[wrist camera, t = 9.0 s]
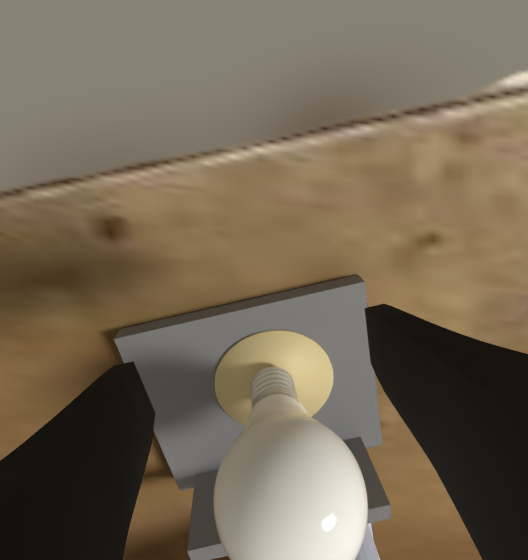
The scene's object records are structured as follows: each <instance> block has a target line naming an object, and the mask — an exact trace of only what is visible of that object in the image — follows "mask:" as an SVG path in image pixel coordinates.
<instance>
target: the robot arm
mask: <svg viewBox="0 0 528 560" xmlns="http://www.w3.org/2000/svg"><path fill="white" fill-rule="evenodd" d="M364 309H365V317H366V326H367V335H368V344H369V353H370V362H371V365H372V367H373V369H374V371H375V374H376V376H377V378H378V380H379V382H380V384H381V386H382V388H383V390H384V392H385V393H386V395H387V396H388V398H389V399H390V401H391V402H392V404H393V405H394V407H395V408H396V410H397V411H398V413H399V414H400V416H401V417H402V419H403V420H404V422H405V423H406V425H407V426H408V428H409V429H410V431H411V432H412V434H413V435H414V437H415V438H416V440H417V441H418V443H419V444H420V446H421V447H422V449H423V450H424V452H425V453H426V455H427V457H428V458H429V460H430V461H431V463H432V465H433V466H434V468H435V470H436V471H437V473H438V475H439V477H440V479H441V481H442V482H443V484H444V486H445V488H446V490H447V492H448V494H449V495H450V497H451V499H452V501H453V503H454V505H455V507H456V509H457V510H458V512H459V514H460V516H461V518H462V520H463V522H464V524H465V526H466V528H467V530H468V532H469V534H470V536H471V538H472V540H473V541H474V543H475V545H476V547H477V549H478V551H479V553H480V555H481V557H482V559H483V560H528V354H525V353H521V352H518V351H514V350H510V349H507V348H503V347H499V346H496V345H492V344H489V343H486V342H482V341H479V340H476V339H473V338H471V337H468V336H465V335H462V334H459V333H456V332H453V331H451V330H448V329H445V328H443V327H440V326H438V325H435V324H433V323H430V322H428V321H425V320H423V319H421V318H418V317H416V316H414V315H411V314H409V313H406V312H404V311H402V310H399V309H397V308H394V307H392V306H389V305H386V304H381V305H377V306H372V307H368V308H364ZM154 421H155V411H154V408H153V406H152V404H151V401H150V399H149V397H148V394H147V392H146V389H145V387H144V385H143V382H142V380H141V378H140V375H139V373H138V371H137V368H136V366H135V364H134V361H133V362H128V363H124V364H119V365H115V366H113V367H112V368H110V369H109V370H108V371H106V372H105V373H104V374H103V375H101V376H100V377H99V378H98V379H97V380H96V381H94V382H93V383H92V384H91V385H90V386H89V387H88V388H87V389H85V390H84V391H83V392H82V393H81V394H80V395H79V396H78V397H76V398H75V399H74V400H73V401H72V402H71V403H70V404H69V405H68V406H66V407H65V408H64V409H63V410H62V411H61V412H60V413H58V414H57V415H56V416H55V417H54V418H53V419H51V420H50V421H49V422H48V423H47V424H45V425H44V426H43V427H42V428H41V429H39V430H38V431H37V432H36V433H35V434H34V435H32V436H31V437H30V438H29V439H28V440H26V441H25V442H24V443H23V444H21V445H20V446H19V447H18V448H16V449H15V450H14V451H12V452H11V453H10V454H9V455H7V456H6V457H5V458H3V459H2V460H1V461H0V560H123V554H124V549H125V543H126V539H127V534H128V530H129V526H130V522H131V518H132V514H133V511H134V507H135V504H136V500H137V496H138V493H139V489H140V485H141V482H142V478H143V475H144V471H145V467H146V463H147V460H148V456H149V452H150V448H151V444H152V437H153V430H154ZM355 560H380V557H379V555H378V552H377V549H376V546H375V543H374V540H373V535H372V528H371V523H369V524H367V528H366V533H365V537H364V540H363V543H362V546H361V549H360V551H359V553H358V555H357V557H356V559H355Z"/></svg>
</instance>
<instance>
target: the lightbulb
mask: <svg viewBox="0 0 528 560" xmlns="http://www.w3.org/2000/svg"><path fill="white" fill-rule="evenodd" d="M250 392H251V407H252V409H251V411H250V413H249V416H248V419H247V424H246V428H245V429H244V430H243V431H242V432H241V433H240V434H239V435H238V436H237V437H236V439H235V440H234V441H233V442H232V444H231V445H230V447H229V448H228V450H227V451H226V453H225V455H224V457H223V459H222V461H221V464H220V466H219V469H218V473H217V476H216V481H215V486H214V496H213V507H214V517H215V523H216V528H217V531H218V535H219V538H220V541H221V543H222V546H223V548H224V550H225V552H226V554H227V555H228V557H229V559H230V560H355V559H356V557H357V555H358V553H359V551H360V549H361V546H362V543H363V540H364V537H365V533H366V528H367V521H368V499H367V491H366V486H365V482H364V478H363V475H362V472H361V469H360V467H359V465H358V463H357V461H356V459H355V457H354V455H353V454H352V452H351V450H350V449H349V448H348V446H347V445H346V444H345V442H344V441H343V440H342V439H341V438H340V437H339V436H338V435H337V434H336V433H335V432H334V431H332V430H331V429H330V428H329V427H327V426H326V425H324V424H323V423H321V422H319V421H317V420H316V419H314V418H312V417H310V416H309V414H308V413H307V411H306V409H305V408H304V406H303V405H302V404H301V403H300V402H299V401H298V397H297V394H296V390H295V385H294V381H293V378H292V376H291V375H290V373H289V372H287V371H286V370H284V369H282V368H279V367H268V368H265V369H262V370H260V371H259V372H257V373H256V374H255V375H254V377H253V378H252V380H251V384H250Z"/></svg>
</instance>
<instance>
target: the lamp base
mask: <svg viewBox="0 0 528 560" xmlns="http://www.w3.org/2000/svg"><path fill="white" fill-rule="evenodd" d="M364 308H368V307H367V298H366V289H365V282H364V280H363V279H362V278H361V277H360V276H359V275H354V276H349V277H345V278H341V279H336V280H332V281H327V282H323V283H319V284H314V285H310V286H306V287H301V288H297V289H293V290H288V291H284V292H279V293H275V294H271V295H266V296H262V297H258V298H253V299H249V300H245V301H240V302H236V303H231V304H227V305H223V306H218V307H214V308H210V309H205V310H201V311H197V312H192V313H188V314H183V315H179V316H175V317H170V318H166V319H162V320H157V321H153V322H149V323H144V324H140V325H135V326H131V327H127V328H122V329H120V330H119V331H118V333H117V335H116V336H115V338H114V341H115V343H116V346H117V348H118V350H119V352H120V355H121V357H122V359H123V362H124V363H128V362H133V361H134V364H135V366H136V368H137V371H138V373H139V375H140V378H141V380H142V382H143V385H144V387H145V389H146V392H147V394H148V397H149V399H150V401H151V404H152V406H153V408H154V411H155V421H154V433H155V435H156V437H157V439H158V442H159V444H160V446H161V449H162V451H163V453H164V455H165V458H166V460H167V462H168V465H169V467H170V469H171V471H172V474H173V476H174V478H175V481H176V483H177V485H178V487H179V490H180V491H181V490H186V489H190V488H194V493H193V502H192V511H191V520H190V529H189V538H188V547H187V552H188V555H189V557H190V559H191V560H212V559H216V558H221V557H225V556H228V555H227V554H226V552H225V550H224V548H223V546H222V543H221V541H220V538H219V535H218V531H217V528H216V523H215V517H214V507H213V496H214V486H215V481H216V476H217V473H218V469H219V466H220V464H221V461H222V459H223V457H224V455H225V453H226V451H227V450H228V448H229V447H230V445H231V444H232V442H233V441H234V440H235V439H236V437H237V436H238V435H239V434H240V433H241V432H242V431H243V430H244V429H245V428H246V424H247V419H248V416H249V413H250V411H251V409H252V407H251V392H250V384H251V380H252V378H253V377H254V375H255V374H256V373H257V372H259V371H260V370H262V369H265V368H268V367H279V368H282V369H284V370H286V371H287V372H289V373H290V375H291V376H292V378H293V381H294V385H295V390H296V394H297V397H298V401H299V402H300V403H301V404H302V405H303V406H304V408H305V409H306V411H307V413H308V414H309V416H310V417H312V418H314V419H316V420H317V421H319V422H321V423H323V424H324V425H326V426H327V427H329V428H330V429H331V430H332V431H334V432H335V433H336V434H337V435H338V436H339V437H340V438H341V439H342V440H343V441H344V442H345V444H346V445H347V446H348V448H349V449H350V450H351V452H352V454H353V455H354V457H355V459H356V461H357V463H358V465H359V467H360V469H361V472H362V475H363V478H364V482H365V486H366V491H367V499H368V521H367V524H369V523H373V522H377V521H382V520H386V519H390V518H392V516H391V506H390V503H389V500H388V498H387V496H386V494H385V491H384V489H383V487H382V485H381V482H380V480H379V478H378V475H377V473H376V471H375V469H374V466H373V464H372V462H371V459H370V457H369V455H368V453H367V450H366V448H369V447H373V446H377V445H382V435H381V426H380V417H379V408H378V399H377V390H376V380H375V371H374V369H373V367H372V365H371V362H370V353H369V344H368V335H367V326H366V317H365V309H364Z"/></svg>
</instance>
